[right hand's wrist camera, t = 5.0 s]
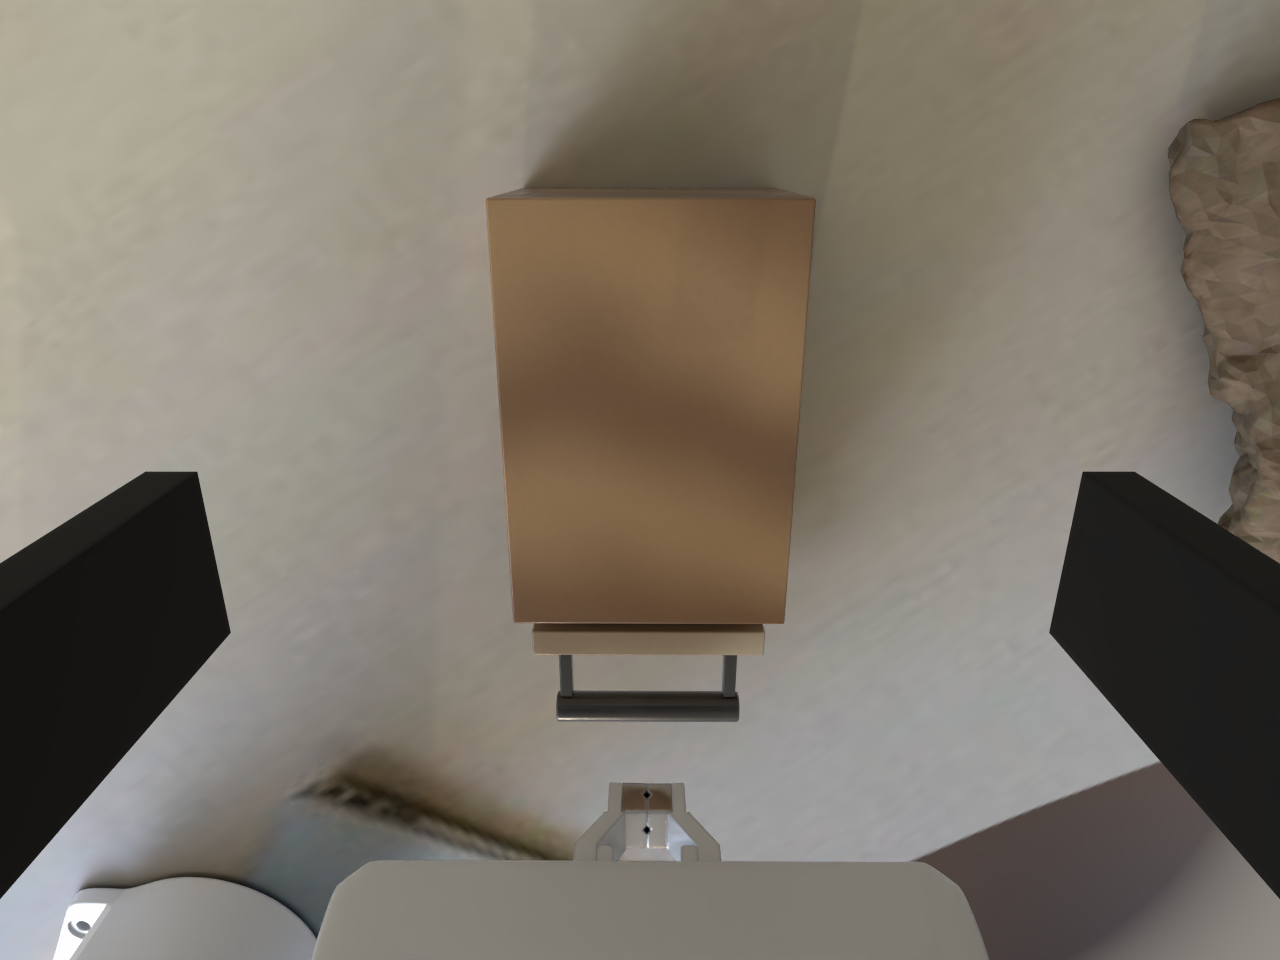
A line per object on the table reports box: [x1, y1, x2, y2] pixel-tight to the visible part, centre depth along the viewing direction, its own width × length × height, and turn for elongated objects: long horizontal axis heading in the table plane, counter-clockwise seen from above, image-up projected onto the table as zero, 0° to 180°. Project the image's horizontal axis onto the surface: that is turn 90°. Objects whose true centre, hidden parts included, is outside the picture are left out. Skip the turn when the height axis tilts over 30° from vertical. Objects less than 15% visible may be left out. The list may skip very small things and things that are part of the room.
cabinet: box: [486, 188, 816, 624], centre depth 35 cm, size 17×11×9 cm
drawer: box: [532, 623, 765, 722], centre depth 37 cm, size 21×10×6 cm, turn 0°
